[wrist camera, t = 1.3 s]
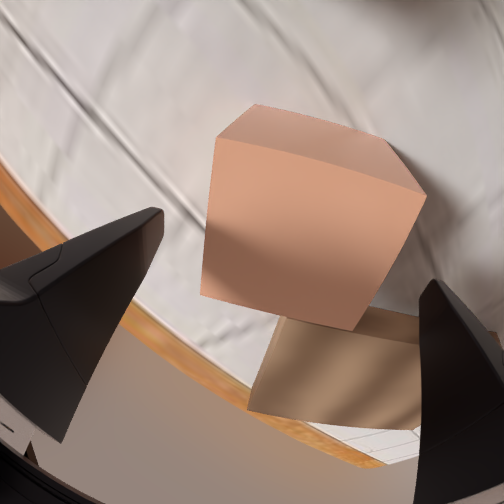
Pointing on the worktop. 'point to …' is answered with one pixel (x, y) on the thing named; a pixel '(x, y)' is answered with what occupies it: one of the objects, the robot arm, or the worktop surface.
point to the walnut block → (344, 372)
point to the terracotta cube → (304, 217)
